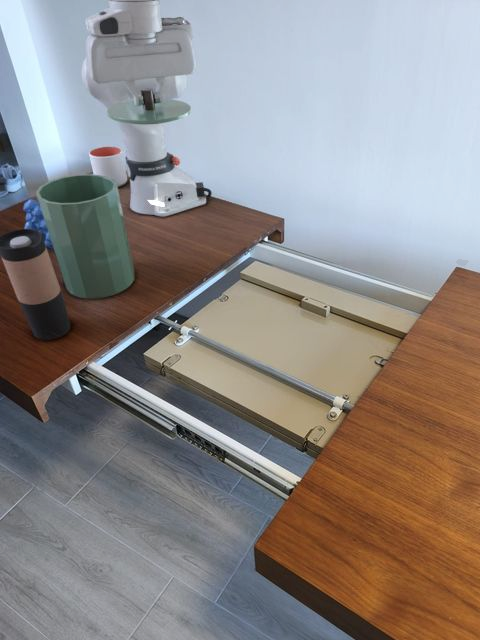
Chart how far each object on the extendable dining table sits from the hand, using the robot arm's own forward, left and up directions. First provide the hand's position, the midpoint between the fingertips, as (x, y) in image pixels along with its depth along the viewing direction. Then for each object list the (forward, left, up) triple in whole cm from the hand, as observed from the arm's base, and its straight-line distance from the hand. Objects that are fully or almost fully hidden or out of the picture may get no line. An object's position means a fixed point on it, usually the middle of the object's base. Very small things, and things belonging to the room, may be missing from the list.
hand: (148, 103), depth 94 cm
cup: (+1, -54, -35) cm, 64 cm away
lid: (0, 0, -2) cm, 2 cm away
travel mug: (+31, +16, -35) cm, 49 cm away
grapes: (+27, -20, -35) cm, 48 cm away
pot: (+18, +2, -35) cm, 39 cm away
